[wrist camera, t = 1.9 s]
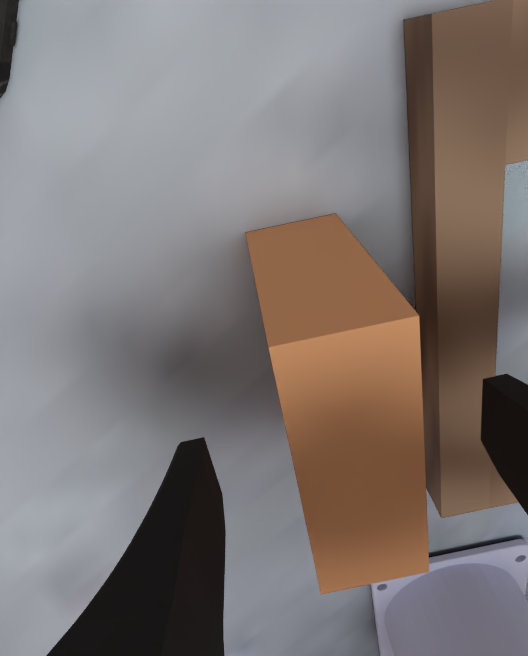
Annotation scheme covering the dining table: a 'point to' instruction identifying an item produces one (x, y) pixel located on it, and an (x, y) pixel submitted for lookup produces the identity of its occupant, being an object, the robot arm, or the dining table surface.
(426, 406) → the brown wooden frame
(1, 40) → the phone
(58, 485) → the dining table surface
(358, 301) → the orange arch block
